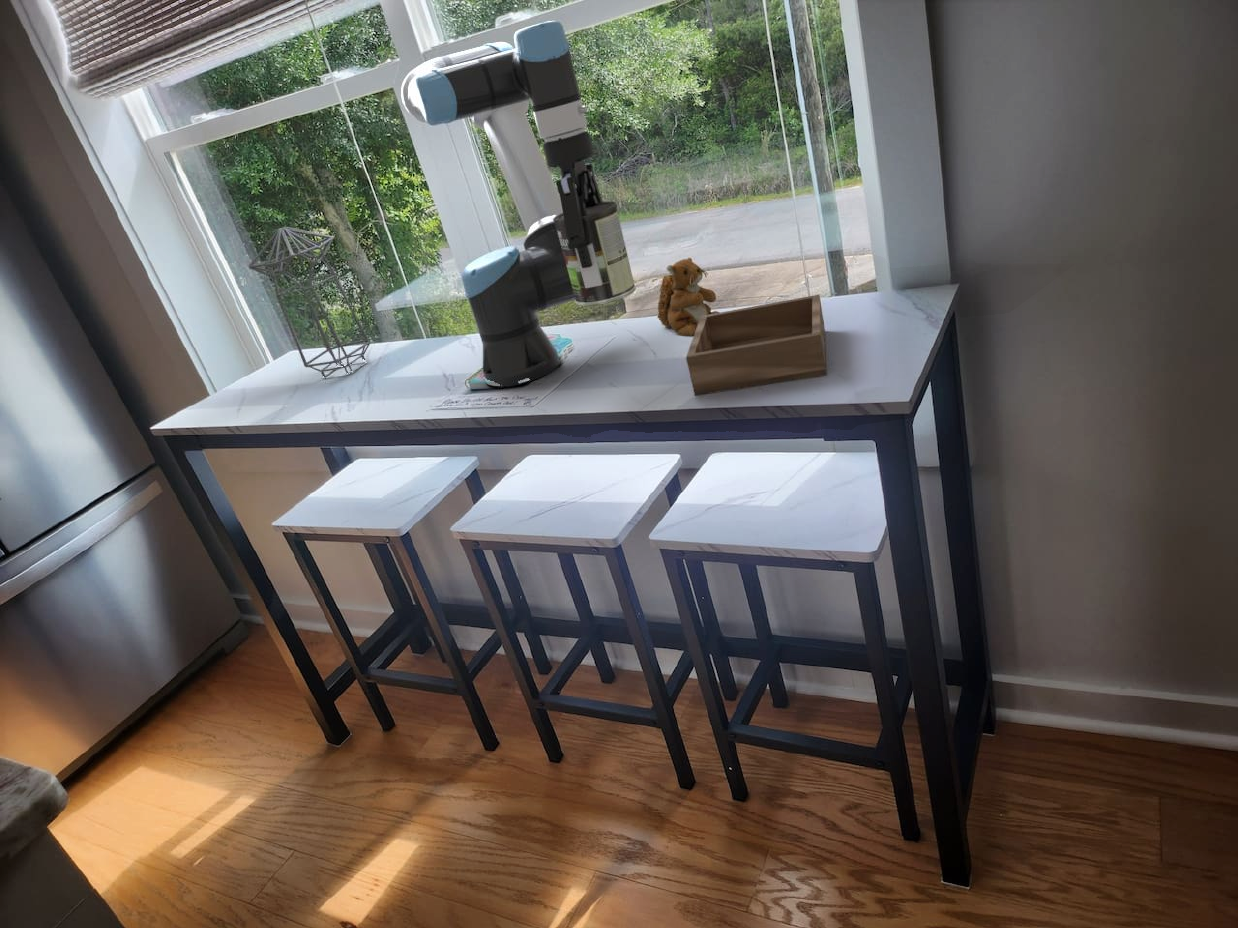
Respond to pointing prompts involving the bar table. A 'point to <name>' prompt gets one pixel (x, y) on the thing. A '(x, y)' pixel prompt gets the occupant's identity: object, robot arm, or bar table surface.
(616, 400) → the bar table surface
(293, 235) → the geometric lantern
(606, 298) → the coffee can
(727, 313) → the walnut box
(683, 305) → the stuffed squirrel
